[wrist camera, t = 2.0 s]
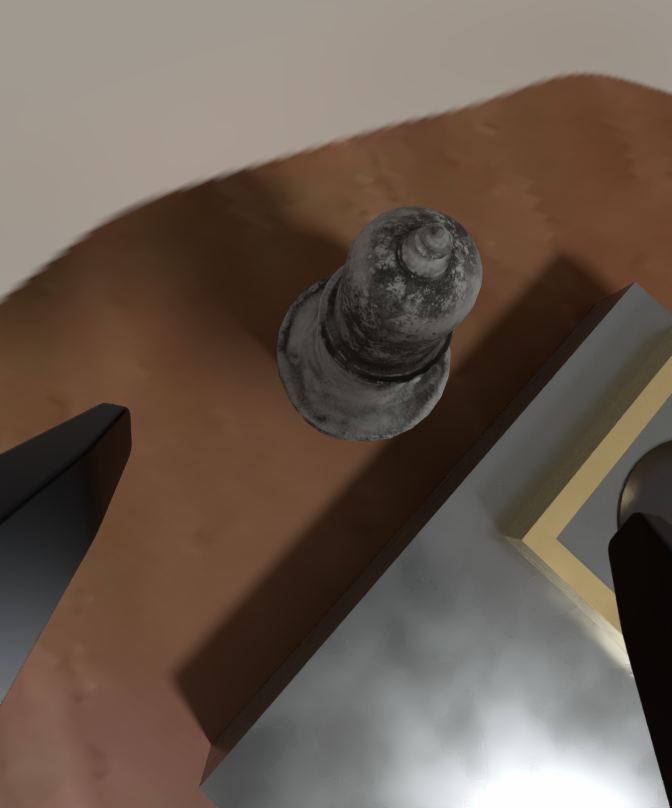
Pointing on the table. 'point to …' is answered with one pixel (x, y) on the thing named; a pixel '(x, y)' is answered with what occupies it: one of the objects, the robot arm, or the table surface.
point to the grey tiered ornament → (381, 327)
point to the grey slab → (488, 614)
